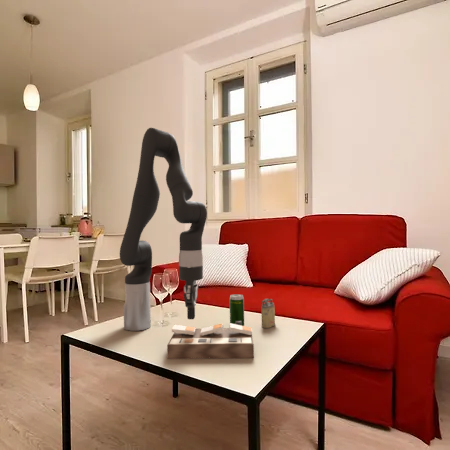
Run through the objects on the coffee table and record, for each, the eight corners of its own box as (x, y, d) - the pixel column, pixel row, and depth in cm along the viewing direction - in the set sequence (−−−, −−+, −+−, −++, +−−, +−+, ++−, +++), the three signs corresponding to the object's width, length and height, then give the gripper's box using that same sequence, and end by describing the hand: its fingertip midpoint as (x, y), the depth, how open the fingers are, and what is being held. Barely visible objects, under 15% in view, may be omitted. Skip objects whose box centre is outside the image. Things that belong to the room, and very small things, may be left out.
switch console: (167, 358, 89) (167, 342, 89) (176, 340, 103) (176, 326, 103) (253, 357, 88) (253, 341, 88) (251, 339, 102) (250, 325, 102)
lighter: (268, 322, 121) (267, 296, 121) (277, 323, 118) (276, 298, 118) (259, 327, 115) (259, 300, 115) (269, 329, 113) (268, 301, 113)
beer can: (246, 328, 113) (246, 296, 113) (233, 330, 112) (232, 297, 112) (241, 324, 118) (240, 293, 118) (228, 326, 117) (227, 294, 117)
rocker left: (171, 332, 96) (172, 328, 96) (174, 327, 100) (174, 324, 100) (193, 334, 95) (194, 331, 95) (195, 330, 99) (195, 327, 99)
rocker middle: (201, 335, 95) (200, 332, 95) (202, 331, 99) (201, 328, 99) (223, 330, 95) (222, 326, 95) (223, 326, 99) (222, 322, 99)
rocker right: (229, 330, 95) (230, 326, 95) (229, 326, 99) (230, 322, 99) (251, 335, 95) (252, 331, 95) (250, 330, 99) (251, 327, 99)
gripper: (182, 261, 104) (183, 312, 104) (174, 267, 91) (175, 325, 91) (204, 261, 104) (205, 312, 104) (200, 267, 91) (200, 325, 91)
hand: (191, 318), depth 97 cm, fingers closed
